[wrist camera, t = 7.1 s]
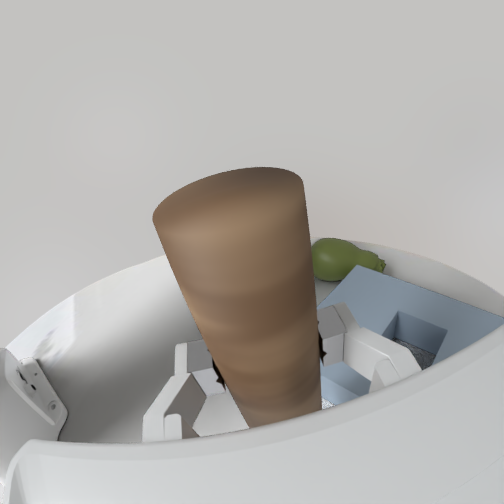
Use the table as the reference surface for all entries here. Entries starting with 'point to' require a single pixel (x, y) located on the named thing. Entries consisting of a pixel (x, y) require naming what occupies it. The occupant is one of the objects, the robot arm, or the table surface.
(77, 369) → the table surface
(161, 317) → the table surface
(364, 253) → the pear
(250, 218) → the peg
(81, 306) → the table surface
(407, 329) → the socket board
